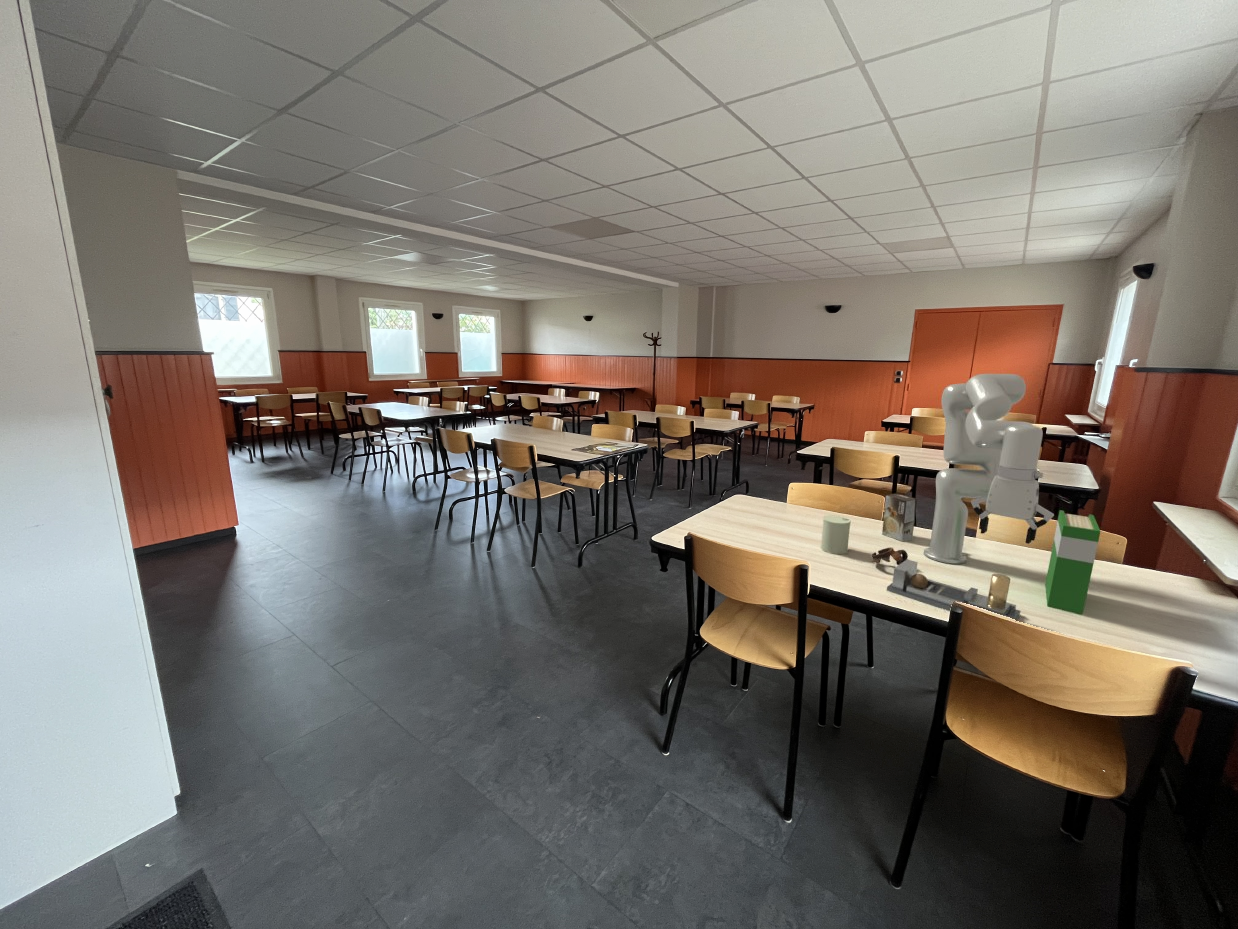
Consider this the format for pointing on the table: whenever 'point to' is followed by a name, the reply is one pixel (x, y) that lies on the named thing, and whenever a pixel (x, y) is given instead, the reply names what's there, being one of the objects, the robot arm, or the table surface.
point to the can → (835, 534)
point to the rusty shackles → (886, 553)
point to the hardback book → (1071, 562)
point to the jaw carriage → (991, 595)
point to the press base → (930, 590)
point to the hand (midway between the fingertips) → (1005, 537)
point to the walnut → (919, 581)
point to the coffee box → (899, 517)
